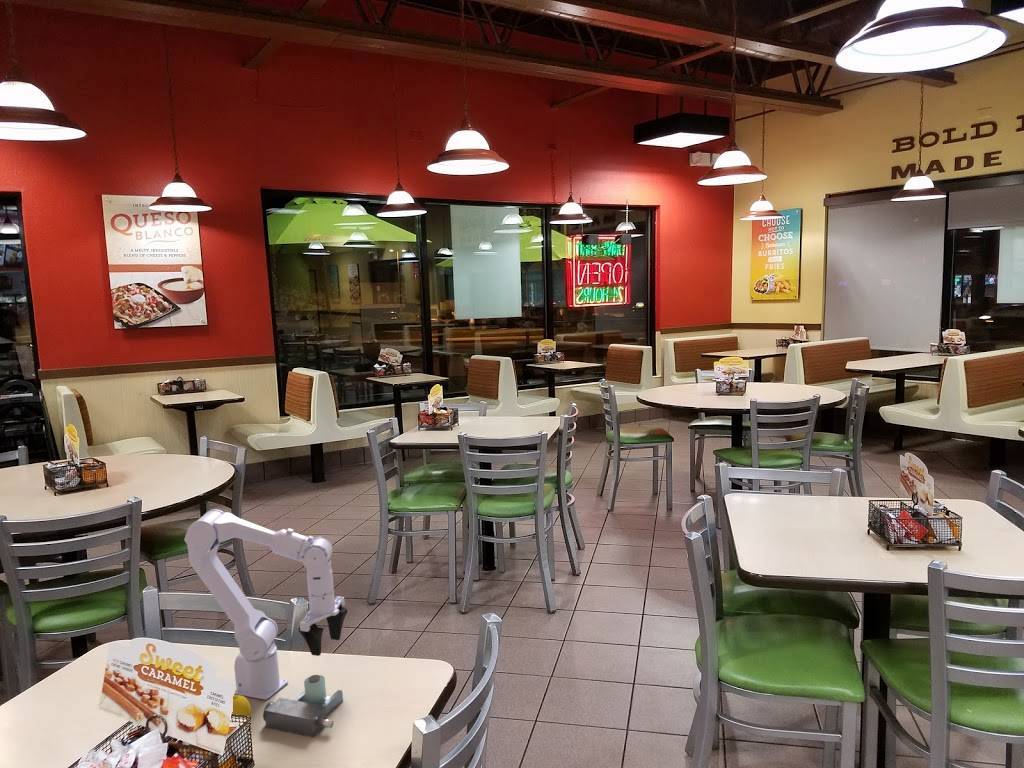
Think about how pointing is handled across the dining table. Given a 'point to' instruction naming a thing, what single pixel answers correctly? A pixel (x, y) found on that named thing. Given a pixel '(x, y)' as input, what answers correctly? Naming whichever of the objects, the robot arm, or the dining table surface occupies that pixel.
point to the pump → (315, 689)
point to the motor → (300, 714)
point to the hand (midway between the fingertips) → (326, 646)
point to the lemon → (241, 706)
